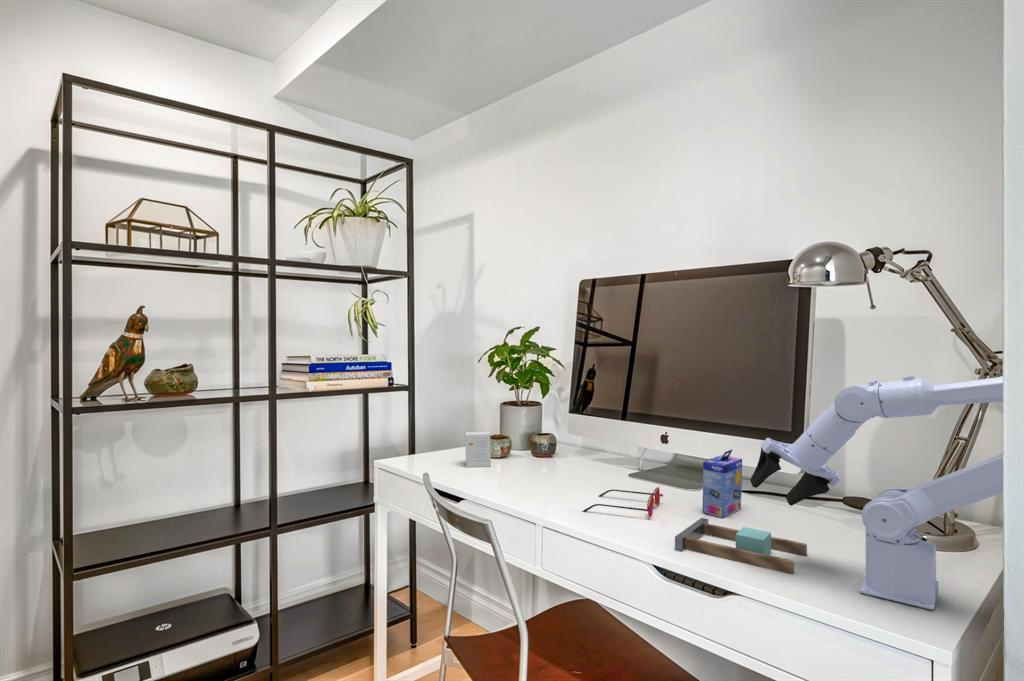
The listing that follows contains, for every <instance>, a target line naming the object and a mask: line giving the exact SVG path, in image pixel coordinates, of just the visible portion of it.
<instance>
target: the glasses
mask: <svg viewBox="0 0 1024 681" xmlns="http://www.w3.org/2000/svg"><path fill="white" fill-rule="evenodd" d="M610 492H621V493H631V494H638V495H639V494H640V495H647V496H648V495H650V496H649V497H648V498H647V504H646V506H647V507H646V508H638V507H630V506H622V505H614V504H613V505H612V504H603V503H595V504H592V505H590V506H588V507H587V508H585V509H583V510H581V512H582V513H586V512H588V511H589V510H591V509H592V508H594V507H597V506H602V507H607V508H609V507H611V508H619V509H624V510H633V511H644V512H647V515H648V516H649V518H652V516H653V512H654V508H655V506H654V505H657V506H659V505H660V502H661V497H662V498H663V497H664V494H663V493H660V486H658V487H656V488H655V489H654V490H653V491H652V492H641V491H633V490H632V491H631V490H624V489H623V490H621V489H609V490H607V491H604V492H603V493H600V494H599V495H598V496H597V497H600V498H601V497H603V496H605V495H607V493H610Z"/></svg>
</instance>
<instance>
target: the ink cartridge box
mask: <svg viewBox="0 0 1024 681" xmlns="http://www.w3.org/2000/svg"><path fill="white" fill-rule="evenodd" d="M732 452H733V449H729V450H727V451H725V452H724V453H722V454H723V455H718V456H715V457H713V458H712V457H711V458H709V459H706V460H704V461H703V463H702V468H703V469H702V470H703V471H702V513H703V514H706V513H707V515H711V516H714V517H717V516H718V517H717V518H721V517H722V518H721V519H724V518H726V517H728V516H730V515H732V514H734V513H736V512H738V511H740V510H741V509H742V492H743V491H742V488H743V487H742V486H743V485H742V484H743V458H739V457H737V456H731V454H732Z"/></svg>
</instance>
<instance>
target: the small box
mask: <svg viewBox="0 0 1024 681" xmlns="http://www.w3.org/2000/svg"><path fill="white" fill-rule="evenodd" d="M464 438H465V467H466V468H487V467H492V459H491V458H492V456H491V455H492V454H491V450H492V449H491V448H492V447H491V433H490V430H487V431H486V430H485V431H480V430H479V431H466V432H465V437H464Z"/></svg>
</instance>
